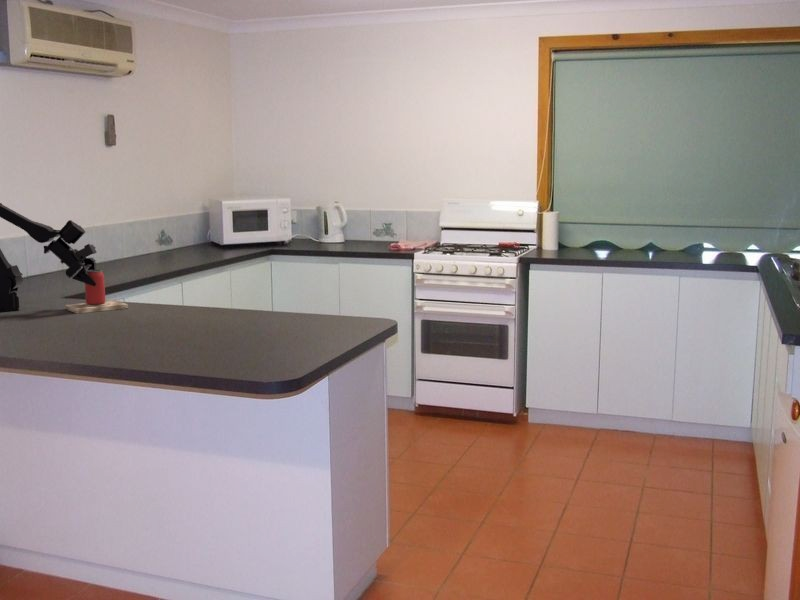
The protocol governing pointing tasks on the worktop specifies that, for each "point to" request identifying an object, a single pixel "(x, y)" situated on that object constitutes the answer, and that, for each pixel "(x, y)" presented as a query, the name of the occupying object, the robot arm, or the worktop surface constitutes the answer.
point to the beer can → (95, 288)
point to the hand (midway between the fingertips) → (99, 283)
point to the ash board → (96, 307)
